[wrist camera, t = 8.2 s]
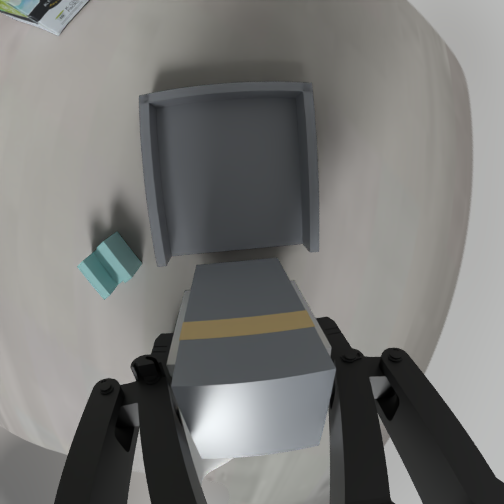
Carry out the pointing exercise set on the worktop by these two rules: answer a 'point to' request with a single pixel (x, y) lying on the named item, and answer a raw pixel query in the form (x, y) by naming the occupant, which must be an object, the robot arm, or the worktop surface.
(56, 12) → the tea box
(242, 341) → the grey box with stripe
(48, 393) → the worktop surface
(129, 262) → the clip
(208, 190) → the grey square tray
